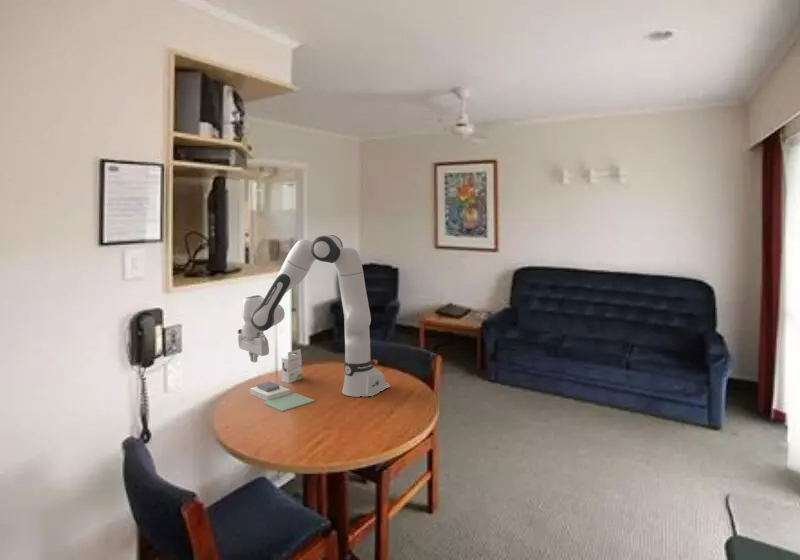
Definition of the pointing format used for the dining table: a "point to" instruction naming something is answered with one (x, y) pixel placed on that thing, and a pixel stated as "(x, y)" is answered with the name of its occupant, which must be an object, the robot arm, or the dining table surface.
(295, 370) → the ink box
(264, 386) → the slate coaster
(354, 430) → the dining table surface
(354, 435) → the dining table surface
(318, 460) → the dining table surface
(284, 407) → the mat
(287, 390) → the stand
